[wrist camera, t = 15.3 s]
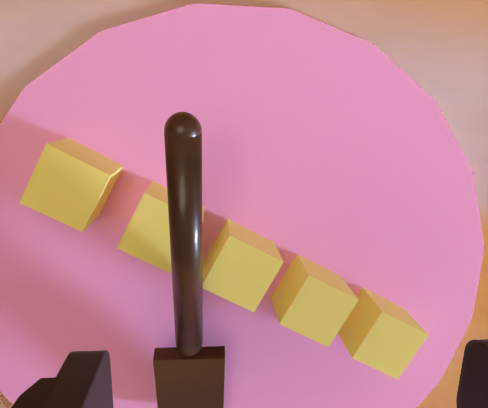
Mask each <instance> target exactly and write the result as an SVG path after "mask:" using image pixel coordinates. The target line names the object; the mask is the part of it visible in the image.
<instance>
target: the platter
mask: <svg viewBox="0 0 488 408" xmlns="http://www.w3.org/2000/svg"><path fill="white" fill-rule="evenodd" d="M177 112H188V113H191V114H192V115H194V116H195V117H196V118H197V119H198V120H199V122H200V124H201V128H202V250H203V344H202V347H207V346H225V381H224V408H416V407H417V406H418V405H419V404H420V403H421V402H422V401H423V400H424V399H425V398H426V397H427V395H428V394H429V393H430V392H431V391H432V390H433V389H434V388H435V387H436V386H437V385H438V384H439V382H440V380H441V379H442V377H443V375H444V373H445V371H446V369H447V367H448V365H449V363H450V361H451V359H452V357H453V355H454V353H455V351H456V349H457V348H458V346H459V344H460V342H461V340H462V338H463V336H464V334H465V332H466V330H467V328H468V326H469V324H470V322H471V320H472V316H473V310H474V305H475V299H476V294H477V288H478V282H479V277H480V271H481V265H482V260H483V254H484V248H485V247H484V240H483V233H482V226H481V220H480V213H479V206H478V199H477V192H476V185H475V179H474V172H473V171H472V169H471V167H470V165H469V163H468V161H467V159H466V157H465V155H464V153H463V151H462V150H461V148H460V146H459V144H458V142H457V140H456V138H455V136H454V134H453V132H452V130H451V129H450V127H449V125H448V123H447V121H446V119H445V117H444V115H443V113H442V111H441V110H440V108H439V106H438V104H437V102H436V101H435V100H434V99H433V98H432V97H431V96H430V95H429V94H427V93H426V92H425V91H424V90H423V89H422V88H421V87H420V86H419V85H418V84H417V83H415V82H414V81H413V80H412V79H411V78H410V77H409V76H408V75H407V74H406V73H405V72H403V71H402V70H401V69H400V68H399V67H398V66H397V65H396V64H395V63H394V62H393V61H391V60H390V59H389V58H388V57H387V56H386V55H385V54H384V53H383V52H382V51H381V50H379V49H378V48H377V47H376V46H375V45H374V44H373V43H370V42H368V41H365V40H363V39H361V38H358V37H356V36H353V35H351V34H349V33H346V32H344V31H342V30H339V29H337V28H334V27H332V26H330V25H327V24H325V23H322V22H320V21H318V20H315V19H313V18H311V17H308V16H306V15H303V14H301V13H299V12H296V11H294V10H291V9H288V8H270V7H252V6H233V5H215V4H197V3H193V4H190V5H187V6H183V7H180V8H176V9H173V10H170V11H166V12H163V13H159V14H156V15H153V16H149V17H146V18H143V19H139V20H136V21H132V22H129V23H126V24H122V25H119V26H115V27H112V28H109V29H105V30H102V31H100V32H99V33H97V34H96V35H95V36H93V37H92V38H91V39H89V40H88V41H86V42H85V43H84V44H82V45H81V46H80V47H78V48H77V49H76V50H74V51H73V52H71V53H70V54H69V55H67V56H66V57H65V58H63V59H62V60H60V61H59V62H58V63H56V64H55V65H54V66H52V67H51V68H50V69H48V70H47V71H45V72H44V73H43V74H41V75H40V76H39V77H37V78H36V79H35V80H33V81H32V82H30V83H29V84H28V85H26V86H25V87H24V89H23V90H22V92H21V93H20V95H19V96H18V98H17V99H16V101H15V102H14V104H13V105H12V107H11V108H10V110H9V111H8V113H7V114H6V116H5V117H4V119H3V120H2V122H1V123H0V391H1V393H2V394H3V395H4V396H5V397H6V398H7V399H8V400H9V401H10V402H11V403H12V404H13V405H14V403H15V402H16V400H17V398H18V397H19V396H20V395H21V394H22V393H23V392H25V391H26V390H27V389H28V388H29V387H31V386H32V385H33V384H34V383H35V382H37V381H38V380H39V379H40V378H54V377H56V376H57V374H58V372H59V370H60V369H61V367H62V365H63V363H64V361H65V359H66V358H67V356H68V354H69V353H70V352H72V351H102V350H107V351H108V352H109V355H110V363H111V378H112V393H113V407H114V408H158V406H157V396H156V386H155V376H154V366H153V356H154V349H155V348H166V347H176V341H175V323H174V305H173V287H172V268H171V250H170V232H169V213H168V195H167V177H166V159H165V140H164V126H165V123H166V121H167V119H168V118H169V117H170V116H171V115H173V114H174V113H177Z"/></svg>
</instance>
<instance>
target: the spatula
mask: <svg viewBox="0 0 488 408" xmlns="http://www.w3.org/2000/svg"><path fill="white" fill-rule="evenodd" d="M164 140H165V159H166V177H167V195H168V213H169V232H170V250H171V268H172V287H173V305H174V323H175V341H176V347H166V348H155V349H154V356H153V366H154V376H155V386H156V396H157V406H158V408H224V381H225V346H207V347H202V344H203V250H202V128H201V124H200V122H199V120H198V119H197V118H196V117H195V116H194V115H192V114H191V113H188V112H177V113H174V114H173V115H171V116H170V117H169V118H168V119H167V121H166V123H165V126H164Z"/></svg>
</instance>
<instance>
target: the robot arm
mask: <svg viewBox="0 0 488 408" xmlns="http://www.w3.org/2000/svg"><path fill="white" fill-rule="evenodd" d="M12 408H114V407H113V393H112V378H111V363H110V355H109V352H108V351H107V350H102V351H72V352H70V353H69V354H68V356H67V358H66V359H65V361H64V363H63V365H62V367H61V369H60V370H59V372H58V374H57V376H56V377H54V378H40V379H39V380H38V381H37V382H35V383H34V384H33V385H32V386H31V387H29V388H28V389H27V390H26V391H25V392H23V393H22V394H21V395H20V396H19V397H18V398H17V400H16V402H15V403H14V405H13V406H12ZM457 408H488V339H487V340H471V341H469V342H468V343H467V345H466V347H465V351H464V357H463V363H462V369H461V375H460V381H459V387H458V393H457Z"/></svg>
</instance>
